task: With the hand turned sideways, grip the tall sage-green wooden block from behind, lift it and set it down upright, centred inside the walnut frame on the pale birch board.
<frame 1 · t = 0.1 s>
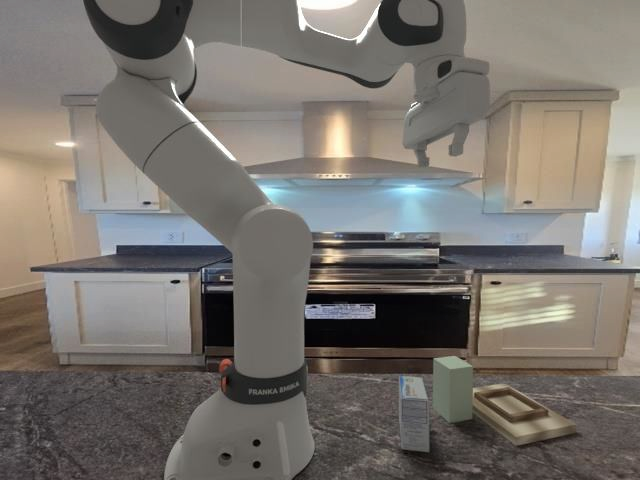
hand: (438, 161, 56), 48 cm above the countertop, tool pointing down, fingers open, 8 cm apart
sage block: (452, 413, 59), on the countertop
birch board: (509, 413, 59), on the countertop
medicine box: (412, 437, 53), on the countertop
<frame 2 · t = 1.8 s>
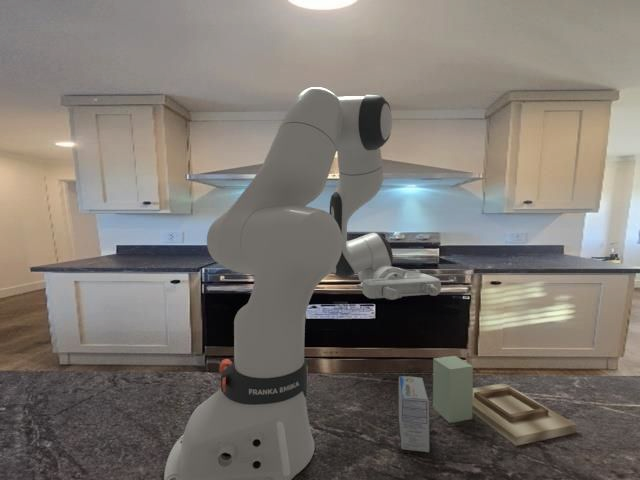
hand: (417, 293, 71), 21 cm above the countertop, tool horizontal, fingers open, 8 cm apart
nothing on the countertop moved.
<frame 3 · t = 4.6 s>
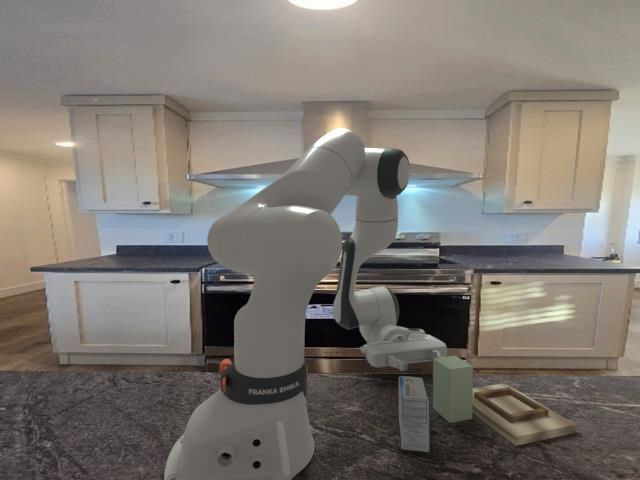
hand: (423, 364, 68), 5 cm above the countertop, tool horizontal, fingers open, 8 cm apart
nothing on the countertop moved.
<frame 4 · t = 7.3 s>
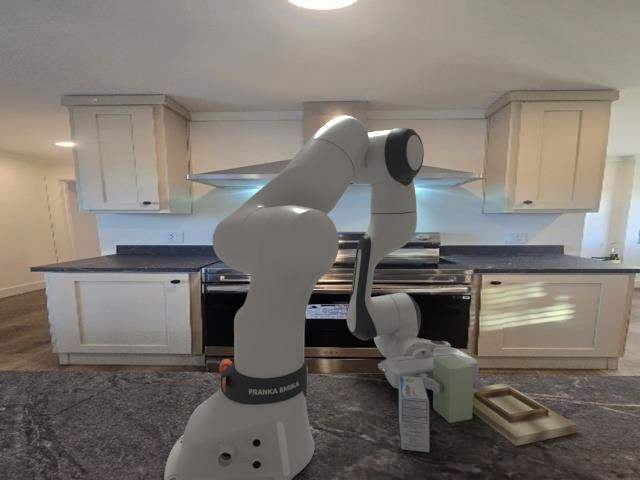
hand: (455, 387, 58), 6 cm above the countertop, tool horizontal, fingers closed on sage block, 5 cm apart
sage block: (452, 413, 59), on the countertop, touching gripper
everything else where it was.
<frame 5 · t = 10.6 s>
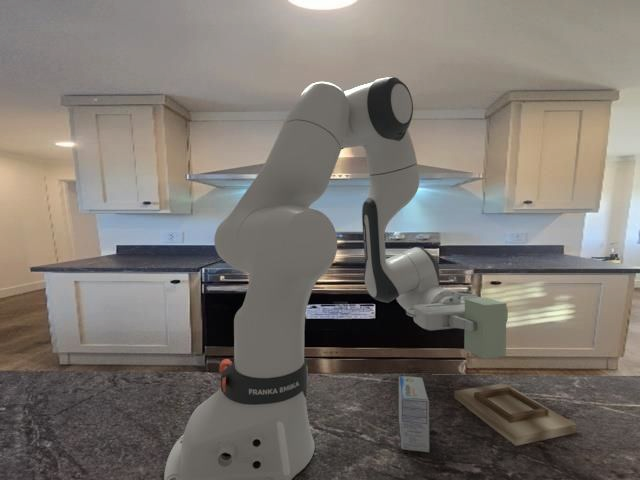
hand: (488, 325, 58), 17 cm above the countertop, tool horizontal, fingers closed on sage block, 5 cm apart
sage block: (484, 352, 59), point 12 cm above the countertop, touching gripper
everything else where it was.
when the fingers open (7 cm above the countertop, at t = 13.7 s): sage block stays where it is, resting on birch board.
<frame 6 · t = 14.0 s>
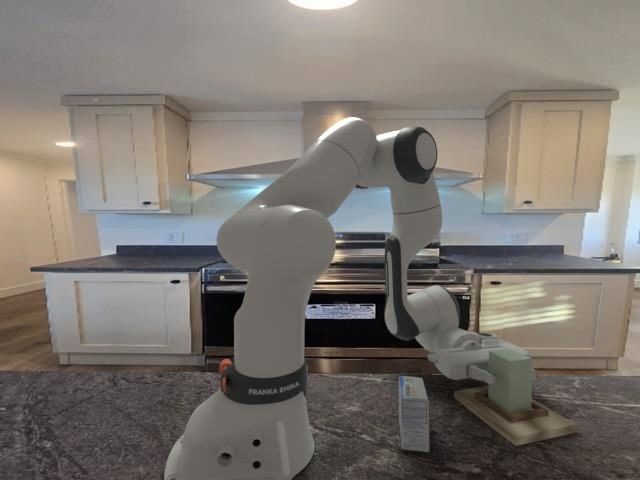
hand: (513, 377, 58), 7 cm above the countertop, tool horizontal, fingers open, 8 cm apart
sage block: (509, 405, 59), point 1 cm above the countertop, touching birch board
everything else where it was.
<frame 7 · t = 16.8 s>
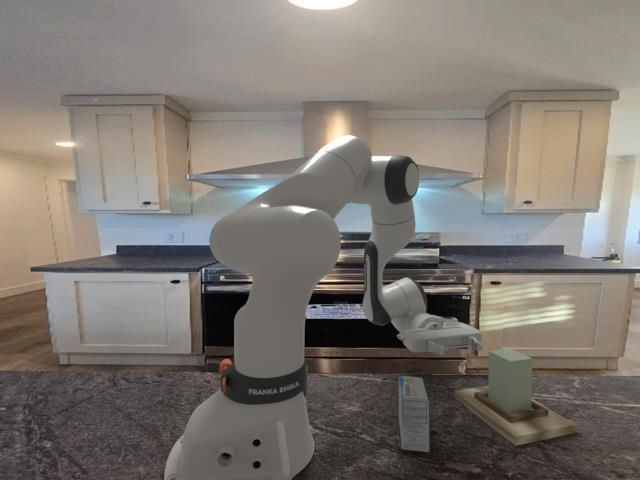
hand: (463, 349, 71), 8 cm above the countertop, tool horizontal, fingers open, 8 cm apart
nothing on the countertop moved.
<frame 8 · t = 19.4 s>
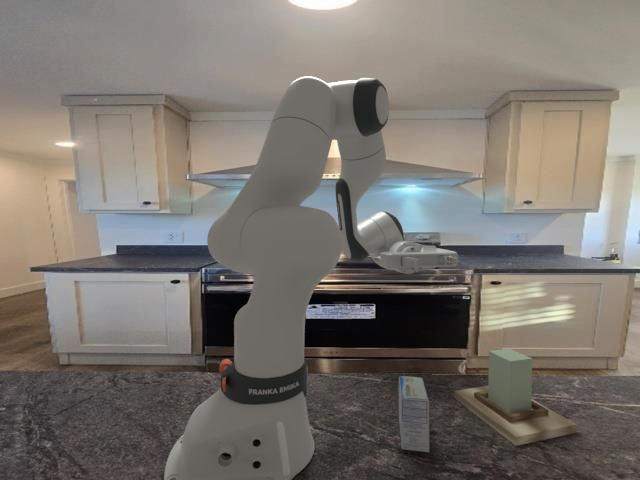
hand: (437, 262, 72), 28 cm above the countertop, tool horizontal, fingers open, 8 cm apart
nothing on the countertop moved.
at the end: sage block 0.0 cm off-centre on the birch board, point 1.5 cm above the birch board's base; sage block tilted 0°; the gripper is holding nothing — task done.
